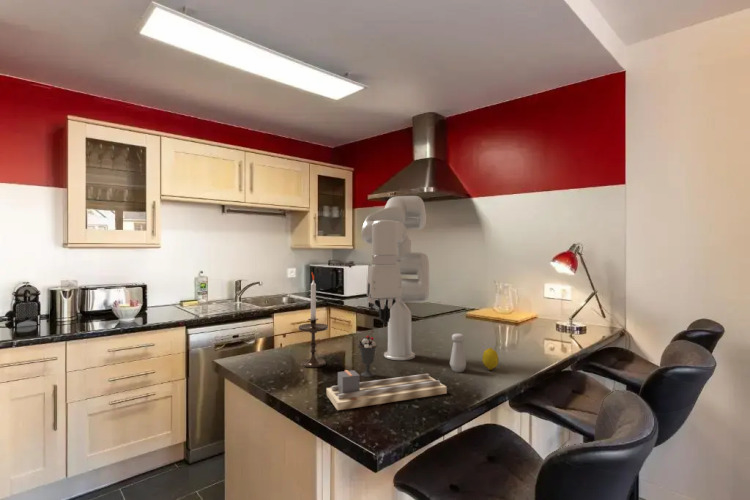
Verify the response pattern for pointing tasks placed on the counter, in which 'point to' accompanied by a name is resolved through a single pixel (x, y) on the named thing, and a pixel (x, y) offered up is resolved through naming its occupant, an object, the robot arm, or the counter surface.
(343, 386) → the fader knob
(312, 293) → the candlestick
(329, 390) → the fader board
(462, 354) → the salt shaker
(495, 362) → the lemon
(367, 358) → the sundae
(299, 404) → the counter surface
